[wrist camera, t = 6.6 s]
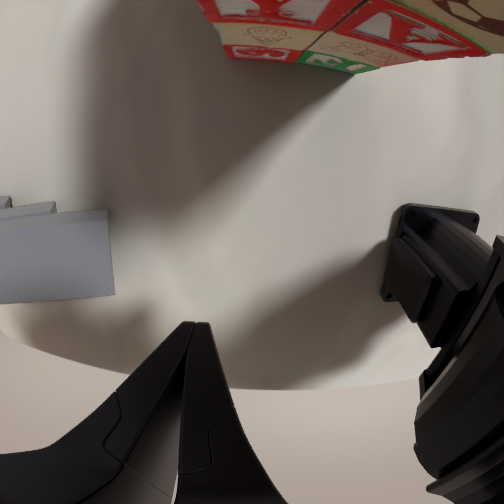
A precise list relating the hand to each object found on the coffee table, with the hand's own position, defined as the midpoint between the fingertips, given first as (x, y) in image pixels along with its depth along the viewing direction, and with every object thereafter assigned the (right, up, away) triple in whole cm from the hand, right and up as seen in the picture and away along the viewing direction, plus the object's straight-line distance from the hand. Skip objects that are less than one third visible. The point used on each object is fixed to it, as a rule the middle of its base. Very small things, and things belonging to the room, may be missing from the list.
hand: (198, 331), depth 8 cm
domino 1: (-6, +2, +6) cm, 9 cm away
